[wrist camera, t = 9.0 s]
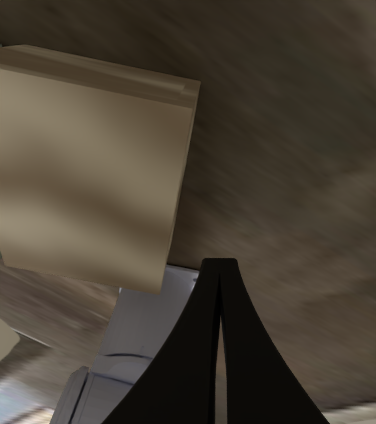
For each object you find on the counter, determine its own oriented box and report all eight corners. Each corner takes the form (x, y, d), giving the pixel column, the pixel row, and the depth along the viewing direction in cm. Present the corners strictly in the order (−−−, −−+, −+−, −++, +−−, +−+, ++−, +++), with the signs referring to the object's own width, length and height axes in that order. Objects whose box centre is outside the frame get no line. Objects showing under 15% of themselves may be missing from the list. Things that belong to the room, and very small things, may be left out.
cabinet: (172, 236, 24) (159, 295, 19) (51, 212, 24) (5, 265, 19) (201, 81, 17) (192, 108, 11) (24, 44, 16) (-66, 55, 11)
